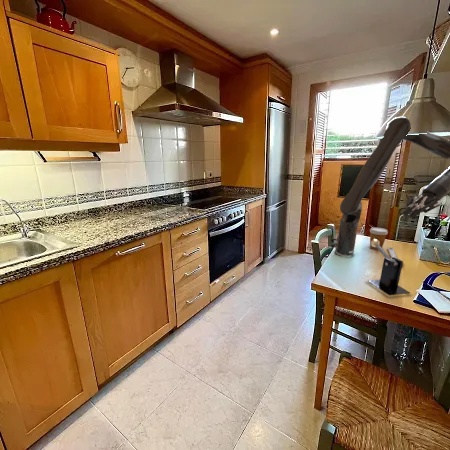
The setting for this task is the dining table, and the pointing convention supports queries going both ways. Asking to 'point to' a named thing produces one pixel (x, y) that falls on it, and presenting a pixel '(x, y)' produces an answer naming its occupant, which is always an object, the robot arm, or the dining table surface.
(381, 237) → the disposable coffee cup
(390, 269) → the bracket
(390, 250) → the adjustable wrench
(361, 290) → the dining table surface
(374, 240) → the lever
